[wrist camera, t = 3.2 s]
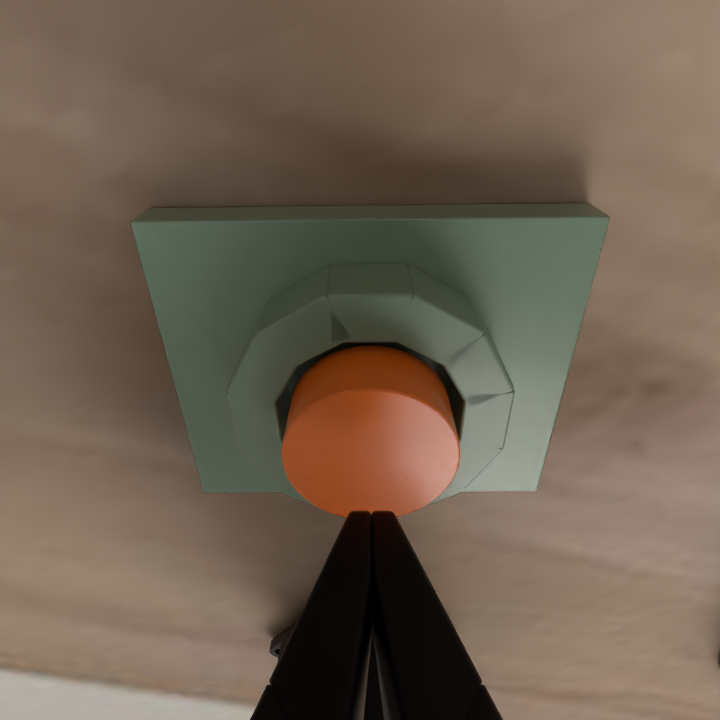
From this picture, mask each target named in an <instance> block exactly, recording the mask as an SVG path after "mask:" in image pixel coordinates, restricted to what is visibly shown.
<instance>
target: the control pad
mask: <svg viewBox="0 0 720 720" xmlns="http://www.w3.org/2000/svg"><path fill="white" fill-rule="evenodd" d="M609 219H610V217H609V216H608V215H607V214H605V213H604V212H602V211H601V210H599V209H597V208H596V207H594V206H593V205H591V204H590V203H552V204H464V205H376V206H288V207H200V208H149V209H148V210H146V211H145V212H143V213H142V214H141V215H139V216H138V217H136V218H135V219H134V220H132V221H131V227H132V231H133V234H134V238H135V242H136V245H137V249H138V253H139V256H140V260H141V264H142V268H143V271H144V275H145V279H146V282H147V286H148V290H149V293H150V297H151V301H152V304H153V308H154V312H155V315H156V319H157V323H158V326H159V330H160V334H161V337H162V341H163V345H164V349H165V352H166V356H167V360H168V363H169V367H170V371H171V374H172V378H173V382H174V385H175V389H176V393H177V396H178V400H179V404H180V407H181V411H182V415H183V418H184V422H185V426H186V429H187V433H188V437H189V441H190V444H191V448H192V452H193V455H194V459H195V463H196V466H197V470H198V474H199V477H200V481H201V485H202V488H203V492H204V493H265V492H281V493H282V494H285V495H287V496H290V497H293V498H295V499H298V500H301V501H303V502H306V503H309V504H311V505H313V504H312V503H310V502H309V501H307V500H306V499H305V498H304V497H302V496H301V495H300V494H299V493H298V492H297V491H296V489H295V488H294V487H293V486H292V484H291V483H290V481H289V480H288V478H287V476H286V473H285V471H284V468H283V464H282V457H281V449H282V442H283V437H284V432H285V428H286V423H287V418H288V413H289V409H290V404H291V399H292V395H293V392H294V389H295V387H296V385H297V383H298V381H299V380H300V379H301V377H302V376H303V374H304V373H305V372H306V371H307V370H308V369H309V368H310V367H311V366H313V365H314V364H315V363H316V362H318V361H319V360H321V359H322V358H324V357H326V356H327V355H330V354H332V353H334V352H337V351H340V350H343V349H346V348H351V347H356V346H368V345H372V346H384V347H390V348H394V349H398V350H401V351H404V352H406V353H409V354H411V355H413V356H415V357H417V358H418V359H420V360H422V361H423V362H424V363H426V364H427V365H428V366H429V367H430V368H431V369H432V370H433V371H434V372H435V373H436V374H437V375H438V377H439V378H440V379H441V381H442V383H443V385H444V387H445V389H446V392H447V395H448V398H449V402H450V406H451V410H452V414H453V418H454V422H455V426H456V430H457V434H458V438H459V443H460V450H461V451H460V462H459V466H458V469H457V472H456V474H455V477H454V478H453V480H452V482H451V483H450V485H449V486H448V487H447V488H446V490H445V491H444V492H443V493H442V494H441V495H440V496H439V497H437V498H436V499H435V500H433V501H432V502H431V503H429V504H427V505H430V504H432V503H435V502H437V501H440V500H443V499H445V498H448V497H451V496H453V495H456V494H458V493H460V492H479V491H537V488H538V484H539V480H540V476H541V473H542V469H543V465H544V462H545V458H546V454H547V450H548V447H549V443H550V439H551V435H552V432H553V428H554V424H555V420H556V417H557V413H558V409H559V405H560V402H561V398H562V394H563V391H564V387H565V383H566V379H567V376H568V372H569V368H570V364H571V361H572V357H573V353H574V349H575V346H576V342H577V338H578V335H579V331H580V327H581V323H582V320H583V316H584V312H585V308H586V305H587V301H588V297H589V293H590V290H591V286H592V282H593V279H594V275H595V271H596V267H597V264H598V260H599V256H600V252H601V249H602V245H603V241H604V237H605V234H606V230H607V226H608V222H609ZM427 505H426V506H427ZM314 506H315V505H314Z"/></svg>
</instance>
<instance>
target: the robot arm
mask: <svg viewBox="0 0 720 720" xmlns="http://www.w3.org/2000/svg"><path fill="white" fill-rule="evenodd" d="M270 653H271V654H272V655H273V656H276V657H278V663H277V665H276V668H275V670H274V672H273V674H272V676H271V678H270V685H267V686H266V688H265V690H264V692H263V694H262V696H261V698H260V701H259V703H258V705H257V707H256V709H255V711H254V713H253V715H252V717H251V719H250V720H503V719H502V717H501V715H500V713H499V712H498V710H497V708H496V706H495V704H494V702H493V700H492V698H491V696H490V695H489V693H488V691H487V689H486V687H485V686H484V685H481V682H482V680H481V678H480V676H479V674H478V672H477V670H476V668H475V666H474V664H473V663H472V661H471V659H470V657H469V655H468V653H467V651H466V649H465V647H464V645H463V643H462V642H461V640H460V638H459V636H458V634H457V632H456V630H455V628H454V626H453V624H452V623H451V621H450V619H449V617H448V615H447V613H446V611H445V609H444V607H443V605H442V603H441V602H440V600H439V598H438V596H437V594H436V592H435V590H434V588H433V586H432V584H431V582H430V581H429V579H428V577H427V575H426V573H425V571H424V569H423V567H422V565H421V563H420V561H419V560H418V558H417V556H416V554H415V552H414V550H413V548H412V546H411V544H410V542H409V540H408V539H407V537H406V535H405V533H404V531H403V529H402V527H401V525H400V523H399V521H398V519H397V518H396V516H395V514H394V513H393V512H392V511H374V512H372V521H371V513H370V512H369V511H351V512H350V513H349V514H348V516H347V518H346V520H345V522H344V525H343V527H342V529H341V531H340V533H339V535H338V537H337V539H336V541H335V543H334V546H333V548H332V550H331V552H330V554H329V556H328V558H327V560H326V562H325V564H324V567H323V569H322V571H321V573H320V575H319V577H318V579H317V581H316V583H315V586H314V588H313V590H312V592H311V594H310V596H309V598H308V600H307V602H306V604H305V607H304V609H303V611H302V613H301V615H300V617H299V619H298V621H297V623H295V624H294V625H292V626H291V627H290V628H288V629H287V630H285V631H284V632H282V633H281V634H280V635H278V636H277V637H275V638H274V639H273V640H272V641H271V645H270Z"/></svg>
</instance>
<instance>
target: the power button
mask: <svg viewBox="0 0 720 720" xmlns="http://www.w3.org/2000/svg"><path fill="white" fill-rule="evenodd" d="M460 451H461V450H460V443H459V438H458V434H457V430H456V426H455V422H454V418H453V414H452V410H451V406H450V402H449V398H448V395H447V392H446V389H445V387H444V385H443V383H442V381H441V379H440V378H439V377H438V375H437V374H436V373H435V372H434V371H433V370H432V369H431V368H430V367H429V366H428V365H427V364H426V363H424V362H423V361H422V360H420V359H418V358H417V357H415V356H413V355H411V354H409V353H406V352H404V351H401V350H398V349H394V348H390V347H384V346H372V345H368V346H356V347H351V348H346V349H343V350H340V351H337V352H334V353H332V354H330V355H327V356H326V357H324V358H322V359H321V360H319V361H318V362H316V363H315V364H314V365H313V366H311V367H310V368H309V369H308V370H307V371H306V372H305V373H304V374H303V376H302V377H301V379H300V380H299V381H298V383H297V385H296V387H295V389H294V392H293V395H292V399H291V404H290V409H289V413H288V418H287V423H286V428H285V432H284V437H283V442H282V449H281V457H282V464H283V468H284V471H285V473H286V476H287V478H288V480H289V481H290V483H291V484H292V486H293V487H294V488H295V489H296V491H297V492H298V493H299V494H300V495H301V496H302V497H304V498H305V499H306V500H307V501H309V502H310V503H312V504H313V505H315V506H317V507H319V508H320V509H323V510H325V511H327V512H330V513H333V514H336V515H339V516H343V517H347V516H348V514H349V513H350V512H351V511H369V512H370V513H371V520H372V512H374V511H392V512H393V513H394V514H395V516H396V517H398V516H402V515H405V514H408V513H411V512H414V511H416V510H418V509H420V508H422V507H424V506H426V505H427V504H429V503H431V502H432V501H433V500H435V499H436V498H437V497H439V496H440V495H441V494H442V493H443V492H444V491H445V490H446V488H447V487H448V486H449V485H450V483H451V482H452V480H453V478H454V477H455V474H456V472H457V469H458V466H459V462H460Z"/></svg>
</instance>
